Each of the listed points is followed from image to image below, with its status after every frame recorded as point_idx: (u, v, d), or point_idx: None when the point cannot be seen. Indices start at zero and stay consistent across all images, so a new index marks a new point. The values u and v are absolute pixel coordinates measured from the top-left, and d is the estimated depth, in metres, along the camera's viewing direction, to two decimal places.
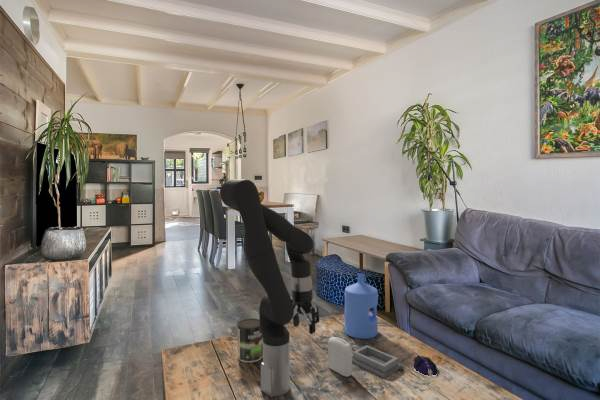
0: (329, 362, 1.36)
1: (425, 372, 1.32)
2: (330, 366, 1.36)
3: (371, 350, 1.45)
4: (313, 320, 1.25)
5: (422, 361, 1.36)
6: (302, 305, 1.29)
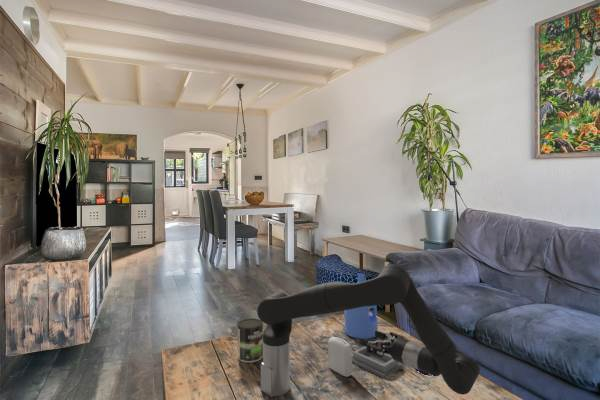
0: (329, 362, 1.36)
1: (425, 372, 1.32)
2: (330, 366, 1.36)
3: None
4: (370, 345, 1.15)
5: None
6: (390, 344, 1.16)
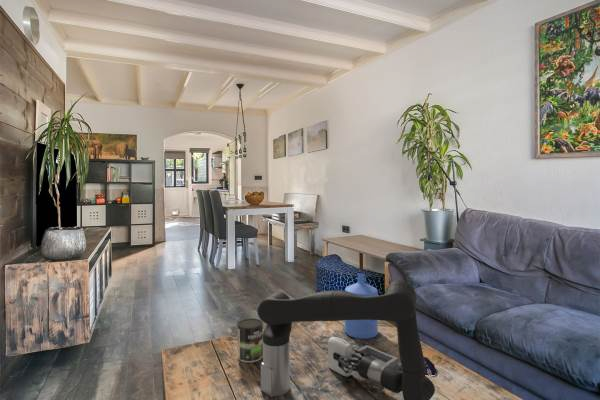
0: (329, 362, 1.36)
1: None
2: (330, 366, 1.36)
3: (371, 350, 1.45)
4: (340, 360, 1.27)
5: None
6: (358, 361, 1.26)
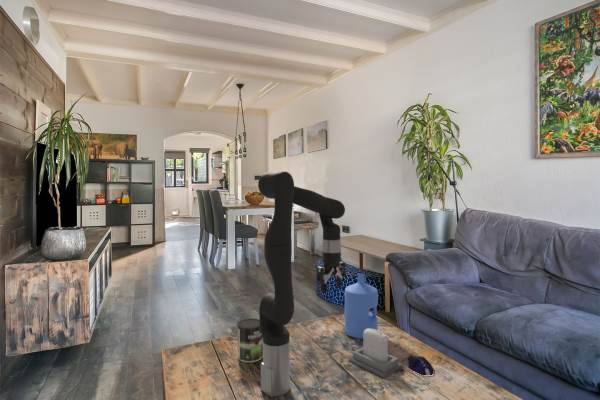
0: (364, 353, 1.41)
1: (423, 372, 1.32)
2: None
3: None
4: None
5: (418, 361, 1.36)
6: None
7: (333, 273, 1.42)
